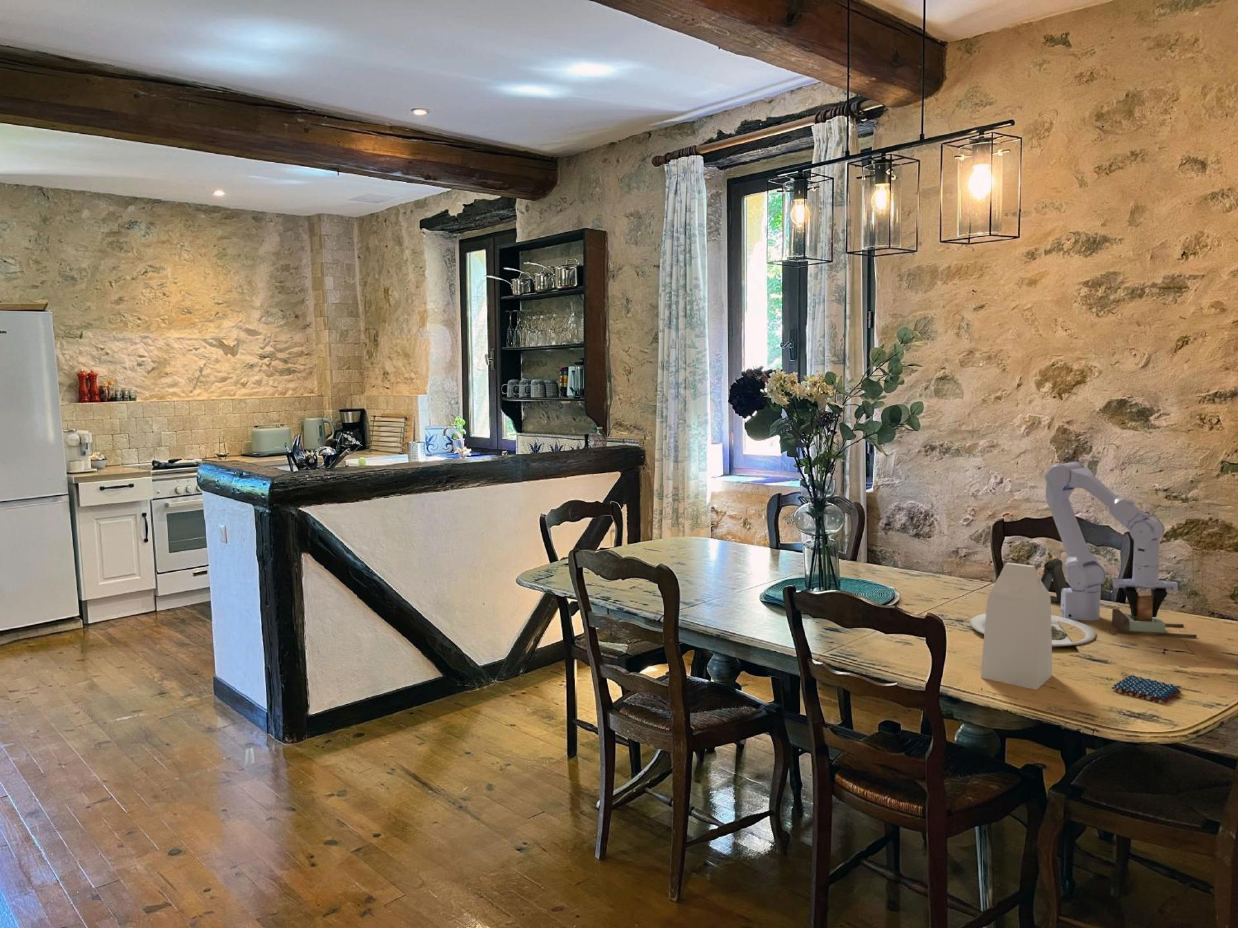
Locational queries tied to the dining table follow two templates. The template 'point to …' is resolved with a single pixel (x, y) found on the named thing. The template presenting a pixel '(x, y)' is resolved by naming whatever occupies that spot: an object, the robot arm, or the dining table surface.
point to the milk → (1018, 629)
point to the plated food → (1056, 630)
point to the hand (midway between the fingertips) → (1143, 615)
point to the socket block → (1146, 625)
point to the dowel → (1144, 608)
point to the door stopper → (1054, 578)
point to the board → (1123, 626)
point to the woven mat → (1146, 688)
